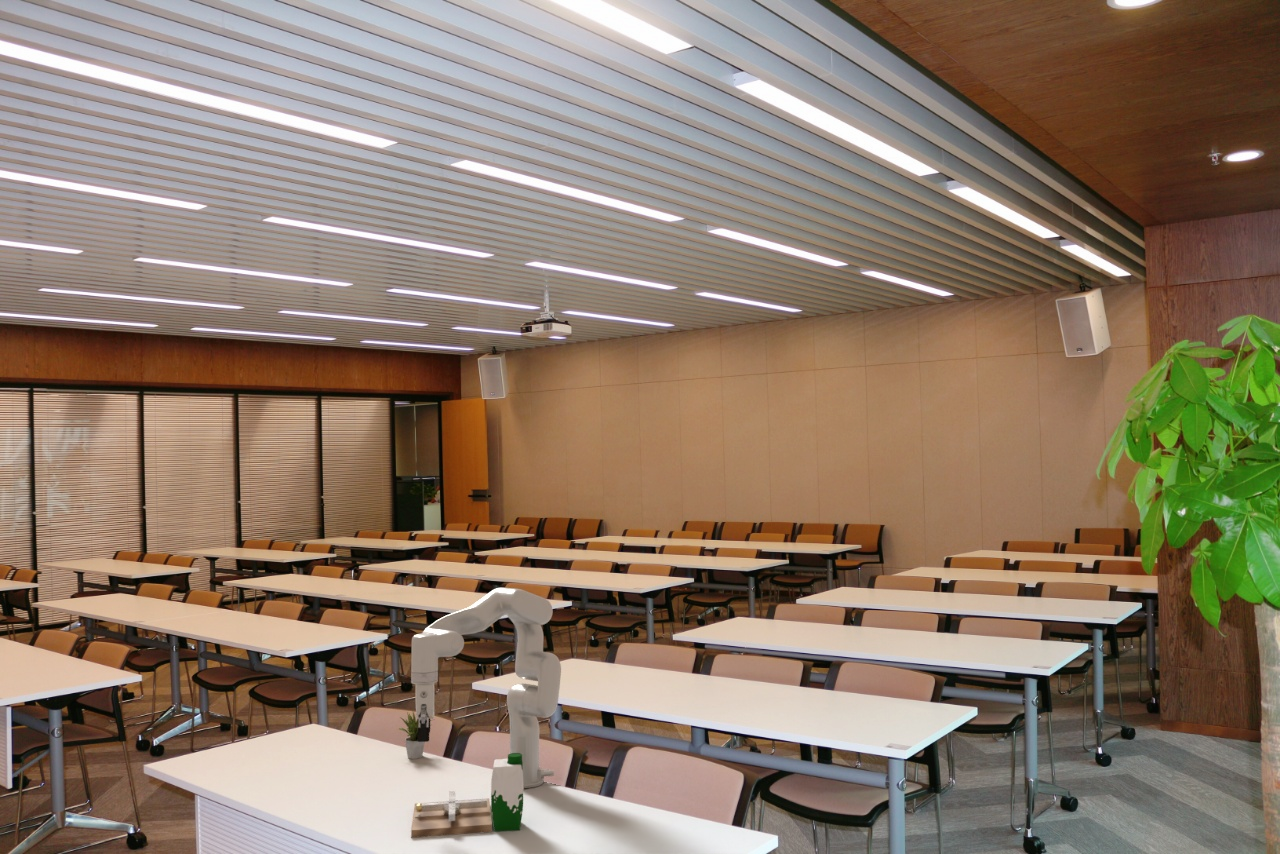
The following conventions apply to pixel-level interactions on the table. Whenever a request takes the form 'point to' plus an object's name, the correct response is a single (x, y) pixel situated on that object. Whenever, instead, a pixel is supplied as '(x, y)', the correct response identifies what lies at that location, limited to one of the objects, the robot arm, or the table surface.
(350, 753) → the table surface
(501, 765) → the milk carton
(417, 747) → the house plant
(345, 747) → the table surface
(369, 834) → the table surface
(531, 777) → the robot arm
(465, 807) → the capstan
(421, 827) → the stand plate
